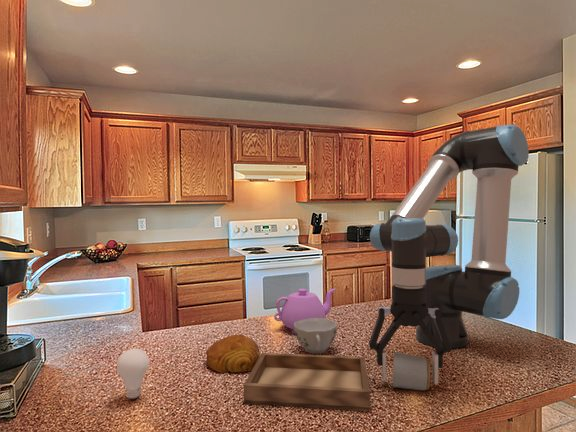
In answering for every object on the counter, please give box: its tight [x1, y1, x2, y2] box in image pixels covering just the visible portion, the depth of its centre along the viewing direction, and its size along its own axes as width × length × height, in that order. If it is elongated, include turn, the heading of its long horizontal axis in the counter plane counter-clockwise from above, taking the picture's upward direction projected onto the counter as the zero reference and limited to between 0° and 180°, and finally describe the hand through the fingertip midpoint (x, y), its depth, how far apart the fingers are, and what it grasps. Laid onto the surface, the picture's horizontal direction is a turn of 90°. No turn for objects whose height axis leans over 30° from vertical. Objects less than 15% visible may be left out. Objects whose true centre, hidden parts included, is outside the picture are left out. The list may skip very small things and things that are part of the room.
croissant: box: [205, 333, 261, 374], centre depth 104 cm, size 14×16×8 cm
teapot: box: [273, 287, 337, 335], centre depth 132 cm, size 22×16×14 cm
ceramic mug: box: [392, 351, 431, 391], centre depth 90 cm, size 11×8×8 cm
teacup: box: [294, 317, 338, 355], centre depth 111 cm, size 15×12×8 cm
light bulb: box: [116, 347, 150, 400], centre depth 85 cm, size 7×7×11 cm
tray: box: [243, 352, 371, 412], centre depth 89 cm, size 26×18×4 cm
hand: (409, 380), depth 89 cm, fingers open, 11 cm apart
